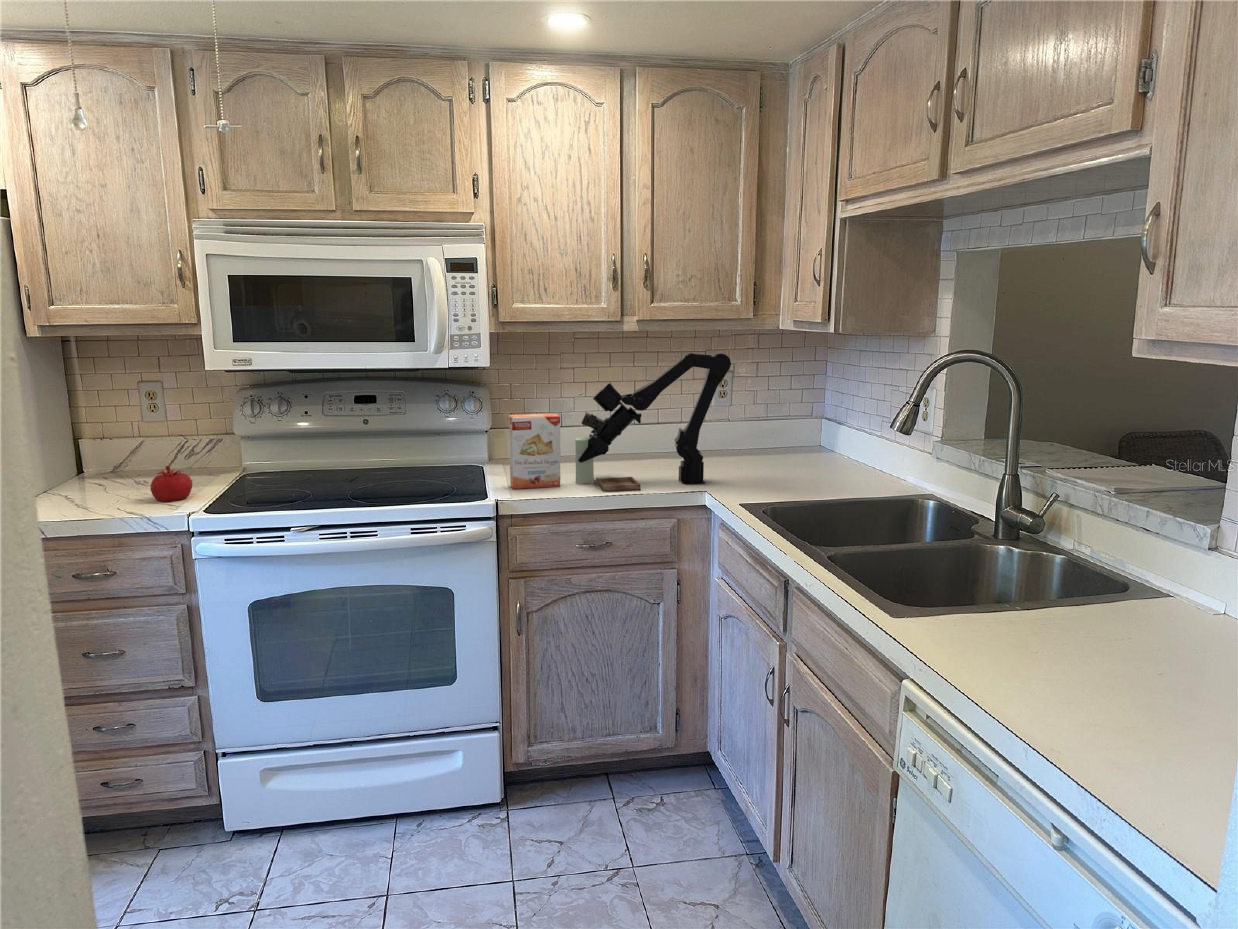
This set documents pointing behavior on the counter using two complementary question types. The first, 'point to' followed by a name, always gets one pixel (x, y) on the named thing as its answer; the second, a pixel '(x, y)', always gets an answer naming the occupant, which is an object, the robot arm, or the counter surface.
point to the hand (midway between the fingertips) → (579, 459)
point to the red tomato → (171, 486)
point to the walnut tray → (617, 484)
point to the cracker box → (534, 450)
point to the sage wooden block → (585, 468)
